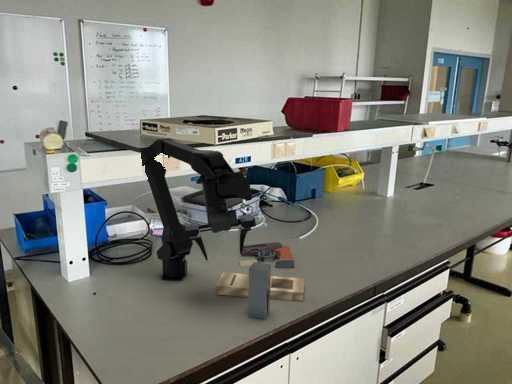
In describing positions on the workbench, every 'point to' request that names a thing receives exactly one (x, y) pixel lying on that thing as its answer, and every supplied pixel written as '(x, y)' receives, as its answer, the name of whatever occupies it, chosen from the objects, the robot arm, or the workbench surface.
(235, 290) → the slotted wooden board
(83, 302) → the workbench surface
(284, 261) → the toy gun
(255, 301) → the tall gray pillar
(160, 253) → the robot arm
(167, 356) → the workbench surface
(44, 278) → the workbench surface
